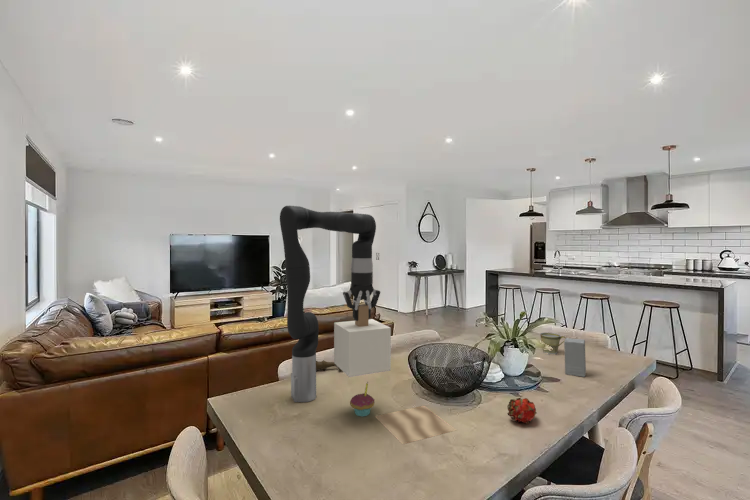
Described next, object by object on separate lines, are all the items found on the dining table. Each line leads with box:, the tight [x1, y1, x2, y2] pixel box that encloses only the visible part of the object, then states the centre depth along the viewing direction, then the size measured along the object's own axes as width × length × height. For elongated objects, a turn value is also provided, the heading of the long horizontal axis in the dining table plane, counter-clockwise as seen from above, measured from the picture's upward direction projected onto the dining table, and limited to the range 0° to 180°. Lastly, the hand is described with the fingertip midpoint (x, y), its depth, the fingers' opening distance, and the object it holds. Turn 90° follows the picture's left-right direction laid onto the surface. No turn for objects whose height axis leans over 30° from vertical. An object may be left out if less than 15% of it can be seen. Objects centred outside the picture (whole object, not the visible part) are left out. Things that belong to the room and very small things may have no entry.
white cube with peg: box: [333, 303, 392, 378], centre depth 133 cm, size 15×15×22 cm
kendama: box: [316, 360, 344, 373], centre depth 181 cm, size 6×10×20 cm
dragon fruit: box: [507, 397, 538, 425], centre depth 129 cm, size 8×8×12 cm
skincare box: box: [563, 337, 587, 378], centre depth 173 cm, size 8×7×16 cm
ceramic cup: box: [540, 332, 567, 355], centre depth 205 cm, size 13×10×10 cm
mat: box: [374, 405, 457, 445], centre depth 126 cm, size 20×20×1 cm
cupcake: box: [349, 381, 375, 417], centre depth 133 cm, size 9×8×12 cm
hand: (361, 319), depth 133 cm, fingers closed on white cube with peg, 3 cm apart
